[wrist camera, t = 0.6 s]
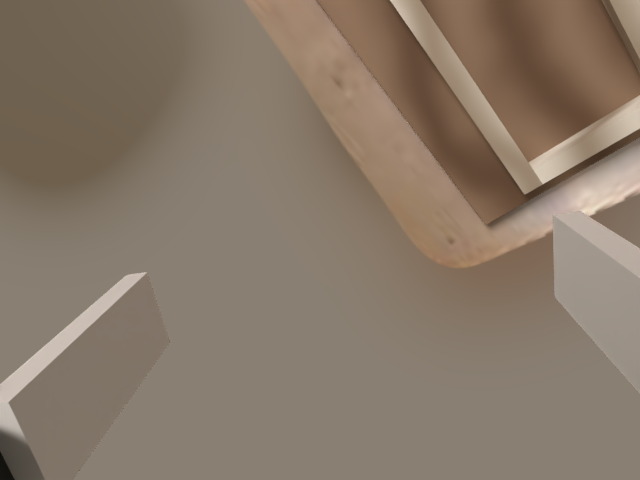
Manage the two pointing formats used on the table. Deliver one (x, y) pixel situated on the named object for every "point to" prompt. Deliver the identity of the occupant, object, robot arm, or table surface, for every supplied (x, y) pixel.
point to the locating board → (505, 85)
